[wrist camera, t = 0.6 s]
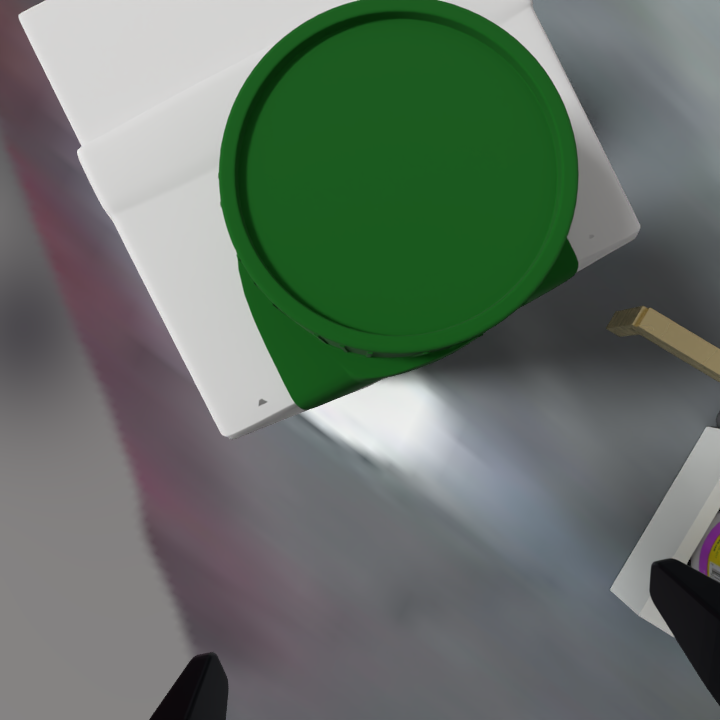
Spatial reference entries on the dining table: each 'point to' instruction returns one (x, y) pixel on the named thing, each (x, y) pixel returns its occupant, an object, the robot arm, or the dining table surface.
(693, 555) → the supplement bottle
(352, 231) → the milk carton
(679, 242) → the dining table surface
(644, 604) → the socket collar
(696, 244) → the dining table surface
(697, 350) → the brass lever handle
